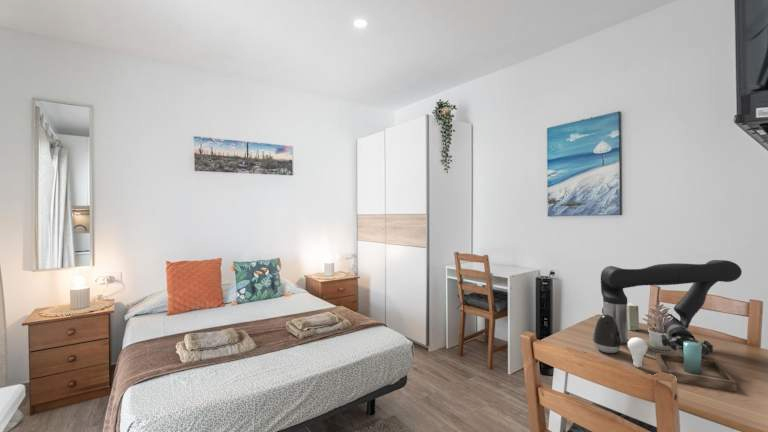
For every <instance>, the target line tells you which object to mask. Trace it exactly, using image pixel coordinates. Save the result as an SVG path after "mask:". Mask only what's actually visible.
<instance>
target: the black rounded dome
mask: <svg viewBox="0 0 768 432" xmlns="http://www.w3.org/2000/svg"><path fill="white" fill-rule="evenodd" d="M592 341H593V343H594V346H595V348H597V349H598V351H600V352H602V353H606V354H615V353H618V352H619V351H620V349H621V347H622V346H623V343H622V340H621V335H620V331H619V328H618V325H617V323H616V321H615V320H614V318H613V317H612V316H610V315H603V314H601V315H600V316H599V317H598V319H597V321H596V324H595V326H594V331H593V337H592Z"/></svg>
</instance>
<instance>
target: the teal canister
mask: <svg viewBox="0 0 768 432" xmlns="http://www.w3.org/2000/svg"><path fill="white" fill-rule="evenodd" d="M701 349H702V346H701V344H699V343H696V342H690V341H684V342H683V349H682V350H683V351H682V352H683V353H682V355H683V356H682V357H683V370H684V371H685V372H687V373H690V374H695V375H700V374H701V359H702V351H701Z"/></svg>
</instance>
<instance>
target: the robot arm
mask: <svg viewBox="0 0 768 432" xmlns="http://www.w3.org/2000/svg"><path fill="white" fill-rule="evenodd" d="M741 276H742V268H741V267H740V265H738V264H737V263H735V261H731V260H724V259H714V260H708V261H707V262H706V263H702V264H701V263H700V264H699V263H698V264H697V263H659V264H653V265H649V266H647V267H643V268H621V267H619V266H613V265H608V266H606V267H604V268H603V269H602V271H601V273H600V291H601V296H602V301H603V302H602V308H603V314H602V315H610V316H612V317H613V318H614V320H615V321H616V323H617V325H618V328H619V331H620V335H621V340H622V344H627V343H628V341H629V340H628V339H629V332H628V331H629V329H628V312H627V303H628V297H627V295H626V294H625V291H624V289H627V288H634V287H640V286H641V287H642V286H671V285H674V286H675V285H684V284H685V285H686V284H692V285H691V286H690V288H689V289H688V290H687V292H685V294H684V296H683V297H681V298H680V300H679V301H678V302H677V303H676V304H675V306H674V307H673V310H674V312H675V313H676V314H677V315H678V316H679V318H680V319H679V318H677V317H675V316H674V315H672V313H671V314H670V313H667V312H666V313H667V314H668V315H667V316H665V318H664V321H665V320H666V318H667V317H668V316H671V317H673V319H672V320H670V321H668V322H667V323H666V324H665V325H664V330H665V331H666V332H667V333H666V332H665V331H664V330H663V331H664V332H665V333H666V335H667V336H666V335H664V334H661V344H662V346H664V347H669V348H670V349H672V350H673V351H674V352H675V351H677V349H681V350H683V342H684V341H690V342H696V343H699V344H701V353H702V354H703V355H704V356H708V355H710V353H711V354H712V353H714V348H713V347H714V345H712V344H711V342H709V341H708V340H703V341H701V340H700V341H699V340H697V339H696V337H695V336H694V335H693V333H691V332H690V330H689V327H690V324H691V322H692V319H693V318H694V317H695V316H696V315H697V313H698V312H699V311H700V310H701V308H703V306H704V304H705V301H706V299H707V295H708V293H709V291H710V289H711V288H712V287H713V286H714V285H715V284H717V283H718V282H722V283H730V282H734V281H737V280H738V279H740V277H741ZM626 342H627V343H626Z"/></svg>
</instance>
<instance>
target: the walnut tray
mask: <svg viewBox="0 0 768 432" xmlns="http://www.w3.org/2000/svg"><path fill="white" fill-rule="evenodd" d="M655 361H656V363H657V366H658V367H659V369H660V372H661V373H662V372H664V373H667V374H672V375H674V376H676V378H677V381H676V382H679V383H683V384H685V383H686V384H690V385H696V386H702V387H708V388H713V389H718V390H722V391H723V390H724V391H725V390H726V391H729V392H730V391H731V392H736V393H737V382H736V380H734V379H733V377H732V376H731V375H730V373H728V372H727V371H726V370H725V368H724V367H723V366H722V365H721V364H720V362H718V361H714V360H708V359H702V358H701V374H700V375H695V374H690V373H687V372H685V371H684V370H683V356H681V355H675V354H668V353H660V352H655Z"/></svg>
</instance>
